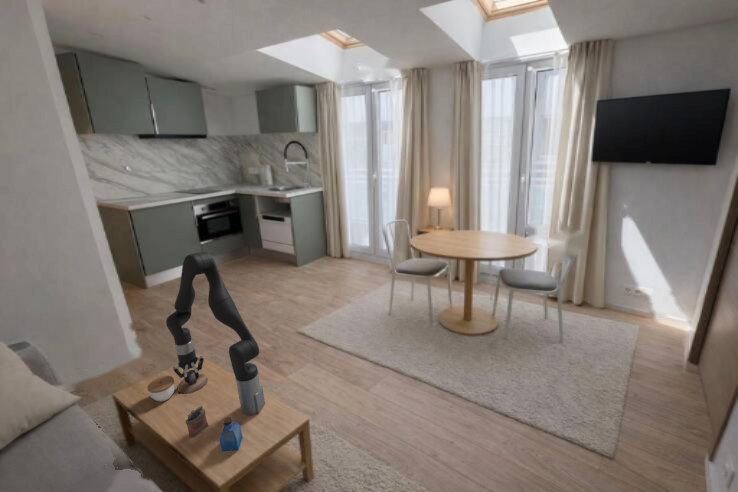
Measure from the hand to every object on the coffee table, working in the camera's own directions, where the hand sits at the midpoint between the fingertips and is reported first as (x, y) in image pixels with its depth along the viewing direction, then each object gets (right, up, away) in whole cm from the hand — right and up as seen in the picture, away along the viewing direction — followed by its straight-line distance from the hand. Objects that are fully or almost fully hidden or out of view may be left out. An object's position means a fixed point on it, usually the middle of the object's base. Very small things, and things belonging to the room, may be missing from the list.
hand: (192, 380), depth 175 cm
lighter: (+16, -11, -27) cm, 34 cm away
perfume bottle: (+33, -12, -35) cm, 49 cm away
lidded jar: (-10, -5, -7) cm, 13 cm away
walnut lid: (0, -2, +1) cm, 2 cm away
